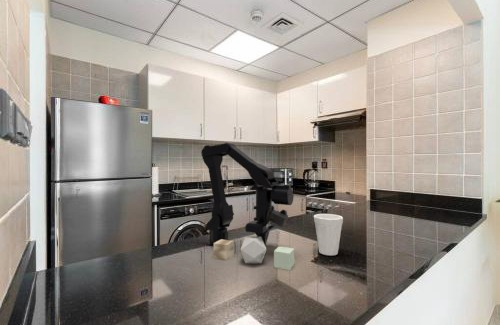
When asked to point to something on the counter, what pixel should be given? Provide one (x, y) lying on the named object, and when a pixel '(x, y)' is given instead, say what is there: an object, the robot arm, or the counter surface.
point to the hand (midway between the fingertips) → (263, 246)
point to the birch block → (223, 249)
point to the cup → (328, 232)
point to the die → (253, 250)
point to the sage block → (284, 258)
